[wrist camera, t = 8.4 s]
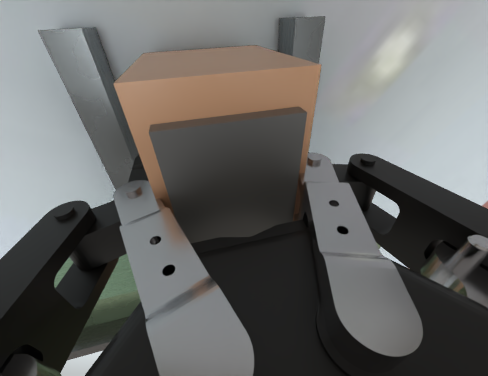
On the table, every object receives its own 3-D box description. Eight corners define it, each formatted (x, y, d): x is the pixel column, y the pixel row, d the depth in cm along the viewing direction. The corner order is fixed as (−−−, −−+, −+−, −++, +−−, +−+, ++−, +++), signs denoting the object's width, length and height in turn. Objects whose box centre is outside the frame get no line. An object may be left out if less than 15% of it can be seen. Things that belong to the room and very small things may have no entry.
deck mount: (385, 13, 13) (548, 6, 7) (332, 208, 22) (385, 272, 17) (-77, 35, 9) (-472, 58, 4) (92, 259, 18) (55, 363, 13)
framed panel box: (255, 45, 10) (332, 68, 5) (256, 194, 16) (294, 276, 11) (143, 53, 10) (107, 88, 4) (185, 208, 15) (190, 303, 10)
